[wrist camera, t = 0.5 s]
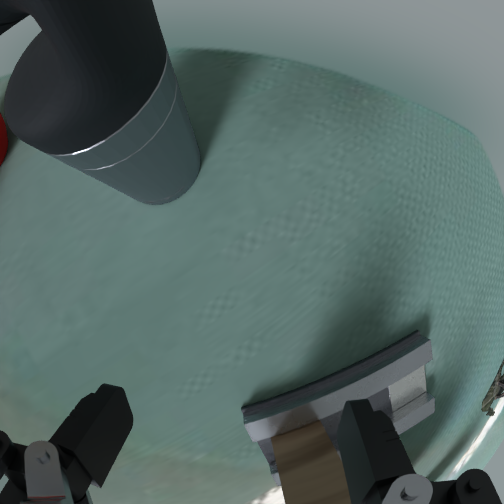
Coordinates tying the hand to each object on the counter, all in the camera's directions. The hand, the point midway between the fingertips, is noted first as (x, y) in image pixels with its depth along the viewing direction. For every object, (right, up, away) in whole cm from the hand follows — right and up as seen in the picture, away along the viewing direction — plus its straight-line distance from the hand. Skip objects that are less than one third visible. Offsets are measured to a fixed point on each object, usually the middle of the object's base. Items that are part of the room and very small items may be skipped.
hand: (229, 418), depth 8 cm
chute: (+13, -15, +21) cm, 29 cm away
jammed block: (+7, -17, +20) cm, 27 cm away
